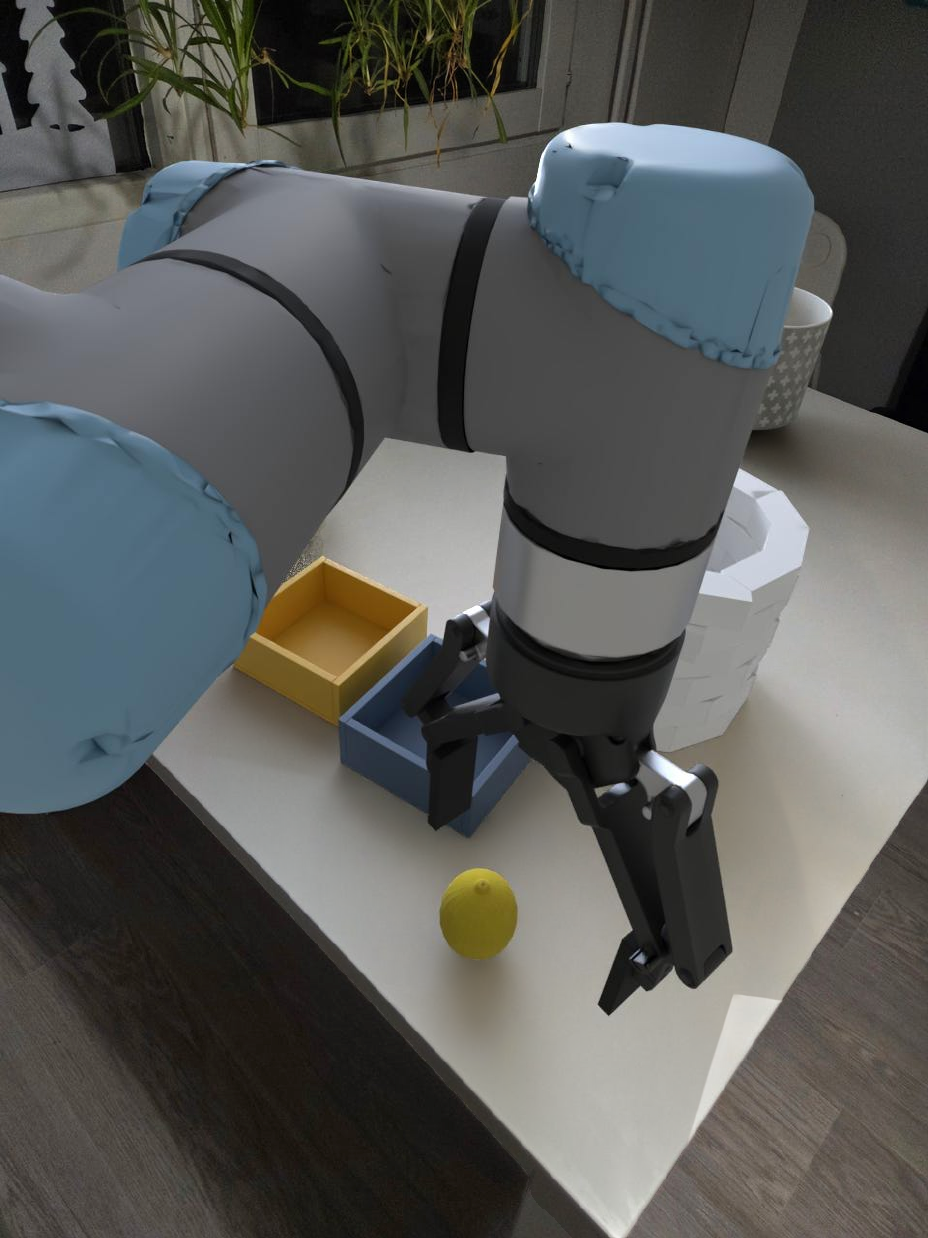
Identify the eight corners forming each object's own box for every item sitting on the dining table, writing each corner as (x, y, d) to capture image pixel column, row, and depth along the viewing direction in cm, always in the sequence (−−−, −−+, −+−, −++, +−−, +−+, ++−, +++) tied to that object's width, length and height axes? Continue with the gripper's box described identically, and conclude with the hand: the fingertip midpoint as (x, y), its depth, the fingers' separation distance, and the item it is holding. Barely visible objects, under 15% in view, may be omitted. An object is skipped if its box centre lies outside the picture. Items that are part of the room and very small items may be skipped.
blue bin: (340, 762, 73) (337, 719, 69) (428, 674, 81) (430, 632, 78) (469, 839, 67) (473, 797, 64) (548, 737, 76) (556, 695, 73)
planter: (659, 432, 123) (688, 311, 111) (675, 381, 137) (702, 269, 125) (789, 459, 119) (834, 336, 107) (792, 404, 133) (832, 290, 121)
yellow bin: (233, 666, 81) (225, 624, 77) (324, 596, 89) (321, 555, 86) (340, 729, 75) (338, 686, 72) (426, 648, 84) (428, 606, 81)
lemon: (490, 994, 58) (500, 937, 53) (423, 955, 60) (426, 896, 54) (524, 930, 62) (537, 871, 56) (460, 895, 63) (466, 835, 58)
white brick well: (520, 579, 94) (541, 429, 82) (730, 603, 93) (783, 455, 81) (504, 745, 75) (528, 583, 63) (768, 779, 74) (844, 621, 62)
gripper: (953, 756, 26) (758, 1035, 40) (455, 439, 40) (438, 729, 54) (829, 887, 23) (661, 1146, 36) (325, 486, 36) (342, 785, 50)
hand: (527, 897), depth 45 cm, fingers open, 13 cm apart
